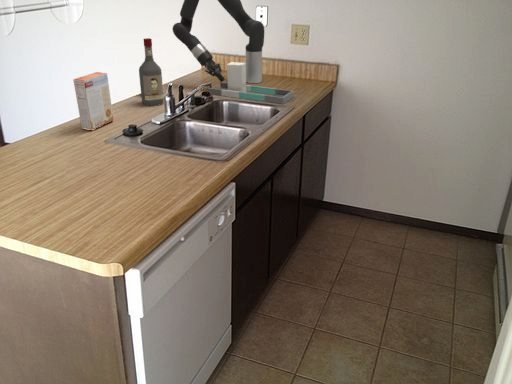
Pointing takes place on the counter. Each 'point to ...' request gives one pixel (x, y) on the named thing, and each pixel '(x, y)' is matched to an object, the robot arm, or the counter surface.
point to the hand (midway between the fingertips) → (223, 80)
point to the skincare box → (236, 76)
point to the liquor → (150, 78)
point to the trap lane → (279, 94)
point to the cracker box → (93, 100)
